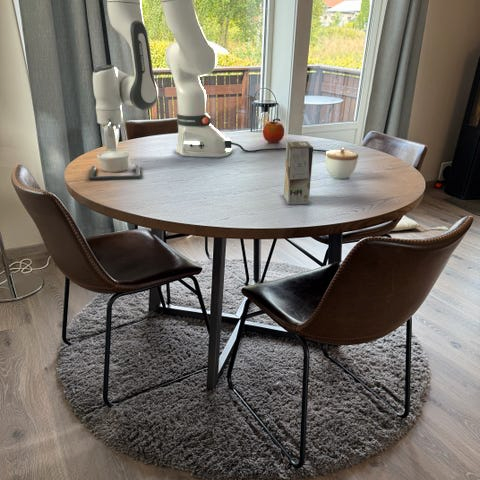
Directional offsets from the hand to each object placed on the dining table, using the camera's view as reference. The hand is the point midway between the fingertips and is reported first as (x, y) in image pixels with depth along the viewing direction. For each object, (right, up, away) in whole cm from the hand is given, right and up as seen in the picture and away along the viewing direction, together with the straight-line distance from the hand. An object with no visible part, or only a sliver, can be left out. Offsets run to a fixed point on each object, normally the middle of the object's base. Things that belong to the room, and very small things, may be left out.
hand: (114, 157), depth 181 cm
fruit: (+60, +19, +38) cm, 74 cm away
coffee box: (+63, -23, -33) cm, 74 cm away
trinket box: (+80, -10, -10) cm, 81 cm away
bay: (+3, -8, -10) cm, 13 cm away
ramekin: (+1, -6, -5) cm, 8 cm away
